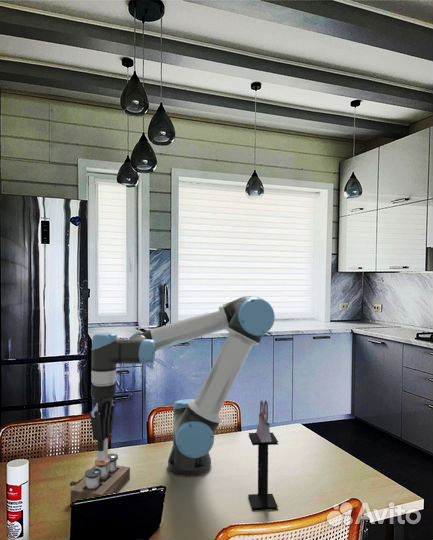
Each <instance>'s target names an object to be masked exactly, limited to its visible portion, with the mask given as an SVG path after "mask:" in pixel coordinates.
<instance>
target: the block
mask: <svg viewBox="0 0 433 540" xmlns="http://www.w3.org/2000/svg"><path fill="white" fill-rule="evenodd" d="M130 480H131V467H130V466H123V465H117V471H116V472H115V473H114V474H110V473H108V480H107V481H106V482H100V481H99V488H98V489H97V490H96V491H91V490H86V478H85V479H83V480H82V481H81V482H80V483H76V484H77V485H76V486H75V485H74V487H72V489H71V490H70V504H71V503H72V502H73V501H76V500H81V499H87V498H92V497H99V496H104V495H108V494H113V493H116V494H118V493H119V491H121V490H122V489H123V487H124V486H125V485H126V484H127V483H128V482H129V481H130Z"/></svg>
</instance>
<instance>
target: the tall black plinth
mask: <svg viewBox="0 0 433 540" xmlns="http://www.w3.org/2000/svg"><path fill="white" fill-rule="evenodd" d="M268 420H269V403H268V401H267V400H260V402H259V413H258V424H257V427H256V432H248V438H249V439H250V442H251V445H252V446H257V493H252V494H251V493H250V494H249V493H248V494H247V496H248V497H247V498H248V501H249V505H250V508H251V510H252V512H253V511H278V510H279V509H278V508H279V506H278V503H277V502H276V499H275V497H274V495H273V493H269V446H272V445H273V446H276V445H277V446H278V445H279V441H278V439H277V437H276V436H275V434H274V432H271V431H270V429H271V428H270V426H271V425H270V423H269V422H268Z"/></svg>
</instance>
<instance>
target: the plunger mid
mask: <svg viewBox="0 0 433 540" xmlns="http://www.w3.org/2000/svg"><path fill="white" fill-rule="evenodd" d="M109 463H110V459H109V458H108V459H107V460H106V461H98V460H97V459H95V461H94V466H95V465H96V468H98V469H100V470H101V474H100V475H99V481H100V482H106V481H107V480H108V464H109Z"/></svg>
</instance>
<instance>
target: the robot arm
mask: <svg viewBox="0 0 433 540" xmlns="http://www.w3.org/2000/svg"><path fill="white" fill-rule="evenodd" d="M275 318H276V317H275V311H274V309H273V307H272V305H271V304H270V303H269V302H268V301H266V300H265V299H264V298H262V297H259V296H251V295H247V296H246V295H245V296H241V297H238V298H237V299H234V300H232V301H230V302H227V303H223V304H221V305H219V307H218V308H217V309H213V310H211V311H207V312H204V313H202V314H198V315H195V316H192V317H189V318H185V319H183V320H179V321H175V322H172V323H170V324H166V325H162V326H159V327H156V328H153V329H150V330H147V331H144V332H136V333H134V334H132V335H131V336H130V337H129V338H128V339H119V338H118V335H117V333H115V332H97V333H95V334H94V335H93V336H92V343H91V372H90V374H91V383H92V384H91V385H90V396H91V397H92V398H93V399H94V402H93V409H92V410H89V412H88V415H89V417H90V423H91V424H90V425H91V433H92V439H93V441H97V446H96V447H97V449H96V450H97V452H96V458H97V459H96V460H98V461H106V460H107V459H108V454H109V451H108V449H109V448H108V447H109V446H108V445H109V439H110V438H112V433H113V426H114V418H115V410H116V406H117V400H113V397H115V396H116V395H117V383H116V382H117V365H127V364H129V365H130V364H131V365H133V364H135V365H137V364H138V365H139V364H142V365H145V364H153V363H155V360H156V352H157V351H160V350H164V349H166V348H170V347H173V346H176V345H180V344H183V343H186V342H189V341H192V340H195V339H199V338H201V337H205V336H209V335H210V334H211V335H212V334H214V333H218V332H221V331H223V330H224V331H227V332H228V336H227V338H226V339H225V341H224V343H223V345H222V347H221V350H220V351H219V353H218V355H217V357H216V359H215V361H214V363H213V365H212V367H211V369H210V371H209V373H208V375H207V377H206V379H205V380H204V383H203V384H202V387H201V388H200V390H199V391H198V394H197V397H196V398H195V399H193V398H186V399H179V400H176V401H175V402H174V404H173V409H172V410H173V419H172V420H173V425H172V426H173V429H172V430H173V436H172V438H173V439H172V441H173V443H172V447H171V450H170V452H169V456H168V460H167V470H168V471H169V472H170V473H171V474H173V475H176V476H180V477H196V476H201V475H204V474H206V473H208V472H209V471H210V470H211V468H212V458H211V455H210V452H211V450H212V448H213V446H214V442H215V433H216V431H217V429H218V427H219V425H220V423H221V417H220V411H222V408H223V406H224V404H225V402H226V400H227V399H228V396H229V394H230V393H231V390H232V388H233V386H234V384H235V382H236V380H237V378H238V376H239V375H240V373H241V371H242V368H243V366H244V365H245V362H246V360H247V358H248V357H249V354H250V352H251V350H252V348H253V347H255V346H257V345H260V343H261V341H262V339H263V337H264V335H265V334H267V333H268V332H269V331H270V330H271V329H272V327H273V325H274V323H275Z"/></svg>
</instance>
